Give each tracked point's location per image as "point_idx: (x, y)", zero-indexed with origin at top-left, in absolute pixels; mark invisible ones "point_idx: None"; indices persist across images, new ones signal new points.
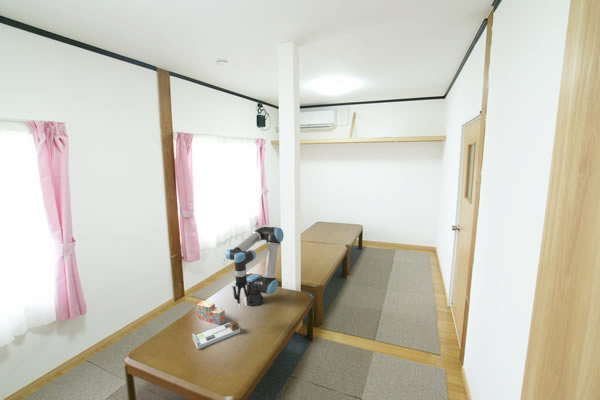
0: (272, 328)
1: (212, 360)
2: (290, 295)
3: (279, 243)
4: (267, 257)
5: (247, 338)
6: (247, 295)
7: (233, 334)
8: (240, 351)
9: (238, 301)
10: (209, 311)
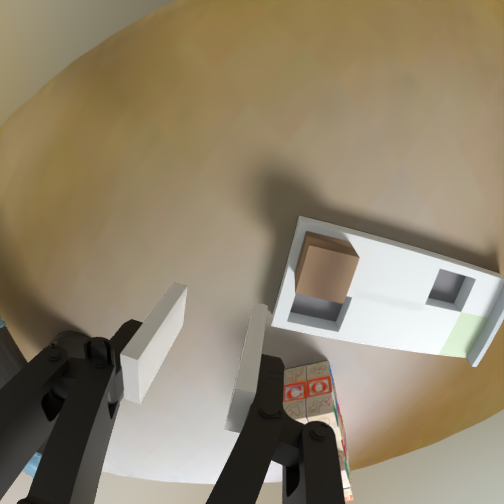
0: (135, 91)
1: None
2: None
3: None
4: None
5: (308, 123)
6: (89, 366)
7: (344, 227)
8: (406, 70)
9: (274, 383)
10: (343, 450)
